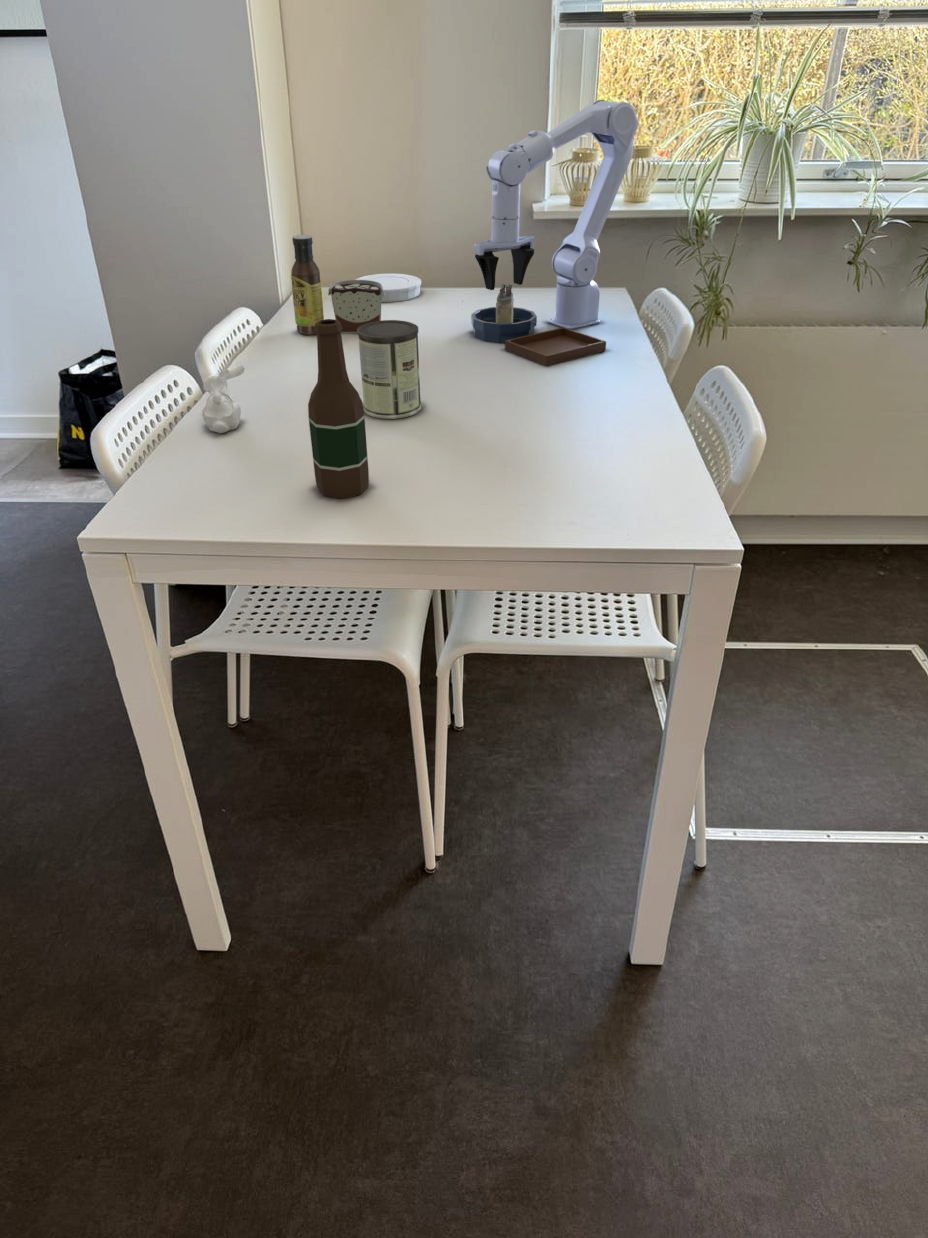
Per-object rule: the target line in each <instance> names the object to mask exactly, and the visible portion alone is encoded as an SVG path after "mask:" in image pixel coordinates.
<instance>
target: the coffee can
mask: <svg viewBox="0 0 928 1238" xmlns="http://www.w3.org/2000/svg"><path fill="white" fill-rule="evenodd" d="M356 335H358V336H357V337H358V338H357V339H358V347H359V348H358V350H359V351H358V352H359V363H360V364H359V365H360V375H361V388H362V399H363V400H362V402H363V409H364V414H366V415H368V416H369V417H371V418H376V419H384V420H392V419H393V420H394V419H396V420H398V419H404V418H407V417H408V418H409V417H412V416H414V415H416V414H418V413H420V411H421V409H422V405H421V403H422V402H421V387H420V386H421V381H420V380H421V379H420V358H419V357H420V354H419V326H418V325H417V324H415V323H414V322H411V321H407V320H397V319H385V320H381V321H375V322H370V323H366V324H364V325H361V326H360V327H358V329H357V333H356Z"/></svg>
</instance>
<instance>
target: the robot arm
mask: <svg viewBox="0 0 928 1238" xmlns="http://www.w3.org/2000/svg"><path fill="white" fill-rule="evenodd" d="M639 123H640V122H639V119H638V116H637V113H636V110H635V108H634V106H633V104H631V103H629V102H628V101H627V102H626V101H623V102H622V101H621V102H617V101H609V100H605V99H597V100H595V101H593V102H592V103H590V104H589V103H588V104H587V105H585V106H584V107H583V108H582V109H580V111H578V112H576V113H574V115H572V116H571V117H569V118H567V119H566V120H564V121H563V122H561V123H560V124H558V125H557V126H555V127H554V128H552V129H551V130H549V131H548V132H545V131H542V130H534V129H533V130H531V131H529V132H528V136H527V137H525V138H524V139H522V140H520V141H519V142H517V143H510V144H509V145H508V148H507V150H498V151H496V152H494V153H493V154H492V155H491V157H490V158H489V161H488V165H487V166H486V168H485V170H486V174H487V176H488V178H489V179H490V182H491V227H490V229H491V230H490V231H491V233H490V235H491V237H490V238H489V239H488V240H485V241H481V242H478V243H474V246H473V248H474V249H473V251H474V258H475V259H476V262H477V264H478V265H479V268H480V270H481V273H482V277H483V281H484V285H485V289H486V290H489V291H494V290H495V288H496V273H497V266H498V262H499V260H500V257H499V256H496V255H495V254H494V253H498V252H503V251H510V253H511V258H512V266H513V273H512V274H513V278H512V279H513V284H516V285H519V286H521V285H523V283H524V279H525V275H526V272H527V269H528V266H529V265H530V262H531V260H532V258H533V256H534V255H535V249H534V248H533V247H535V245H536V242H535V241H536V237H535V236H534V235H521V236H520V216H521V215H520V214H521V213H520V211H521V208H520V207H521V183H523V181H524V180H525V178H526V176H527V174H529V173H530V172H532V171H534V170H535V169H538V167H540V166H543V165H544V164H546V163H547V162H549V161H550V160H552V159H553V156H554V153H555V150H557V149H559V148H560V147H562V146H565V145H566V144H568V143H570V142H572V141H574V140H576V139H578V138H580V137H581V136H583V135H586V134H588V133H590V134H591V135H592V136H593V137H594V139H595V140H596V142H597V144H598V145H599V146H600V149H601V152H602V155H603V158H602V160H601V162H600V165H599V168H598V170H597V172H596V175H595V177H594V180H593V182H592V185H591V188H590V190H589V192H588V194H587V197H586V199H585V202H584V205H583V207H582V210H581V212H580V214H579V217H578V220H577V222H576V225H575V227H574V229H573V232H571V233H570V234H568V235H567V236H565V238H564V239H563V241H562V243H561V244H560V247H559V248H558V249H557V250H556V251H555V252H554V254H553V256H552V258H551V269H552V271H553V273H554V274H555V275H556V276H555V280H556V291H555V292H556V293H555V314H554V317H552V318H548V319H546V322H547V323H548V324H552V325H554V326H558V327H559V328H562V327H565V328H568V329H571V330H574V329H578V328H582V327H587V326H590V325H596V324H600V323H601V320H600V319H599V307H600V288H599V285H598V284H597V282H596V281H594V278H595V277H596V274H597V272H598V271H597V270H598V261H599V259H600V256H601V250H600V247H599V244H598V240H599V237H600V235H601V232H602V230H603V228H604V225H605V223H606V220H607V218H608V216H609V214H610V211H611V208H612V206H613V204H614V201H615V198H616V196H617V194H618V192H619V189H620V187H621V185H622V182H623V180H624V177H625V175H626V173H627V170H628V167H629V165H630V163H631V160H632V158H633V153H634V152H633V151H634V141H635V134H636V133H637V130H638V127H639Z"/></svg>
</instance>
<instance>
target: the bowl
mask: <svg viewBox="0 0 928 1238" xmlns="http://www.w3.org/2000/svg"><path fill="white" fill-rule="evenodd" d="M470 317H471V318H470V320H471V321H470V323H471V326H472V333H473V337H474V338H476V339H478V340H482V341H484V342H489V343H490V342H491V343H501V344H502V343H504V344H505V340H510V339H514V338H518V337H523V336H527V335H531V334H535V327H537V322H538V321H537V318H538V316H537V314H536V313H535V311H533V310H529V309H526V308H524V307H515V306H513V323H496V306H489V307H485V308H480V309H477V310H474V312H472V313H471V315H470Z"/></svg>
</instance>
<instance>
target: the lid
mask: <svg viewBox="0 0 928 1238" xmlns="http://www.w3.org/2000/svg"><path fill="white" fill-rule="evenodd" d="M355 280H369V281H375V282H378V283H380V284H381V285H382V287H383V290H384V294H385V296H383V293H382V301H381V303H393V302H394V303H395V302H403V301H408V300H409V301H410V300H412V299H415V298H417V297H419V296H420V294H421V285H422V279H420V277H417V276H415V275H412V274H405V273H376V274H368V275H364V276H361V277H357V278H356V279H355Z"/></svg>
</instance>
